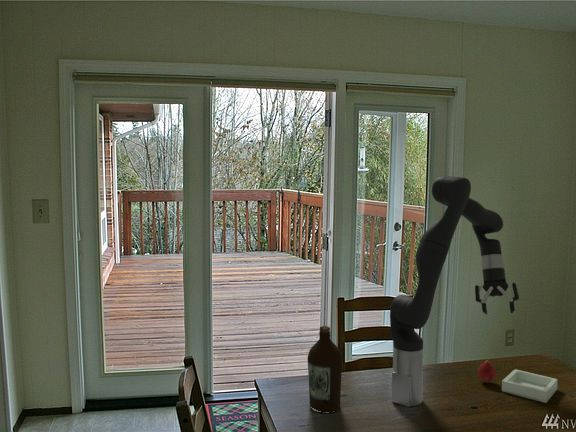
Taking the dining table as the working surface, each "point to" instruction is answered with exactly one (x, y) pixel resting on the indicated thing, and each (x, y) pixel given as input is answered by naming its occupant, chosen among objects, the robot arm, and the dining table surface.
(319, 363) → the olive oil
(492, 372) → the onion
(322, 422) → the dining table surface
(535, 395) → the bin
